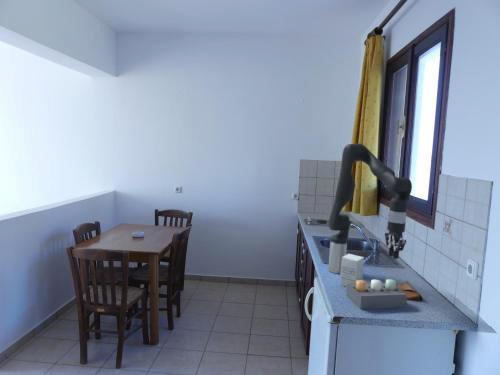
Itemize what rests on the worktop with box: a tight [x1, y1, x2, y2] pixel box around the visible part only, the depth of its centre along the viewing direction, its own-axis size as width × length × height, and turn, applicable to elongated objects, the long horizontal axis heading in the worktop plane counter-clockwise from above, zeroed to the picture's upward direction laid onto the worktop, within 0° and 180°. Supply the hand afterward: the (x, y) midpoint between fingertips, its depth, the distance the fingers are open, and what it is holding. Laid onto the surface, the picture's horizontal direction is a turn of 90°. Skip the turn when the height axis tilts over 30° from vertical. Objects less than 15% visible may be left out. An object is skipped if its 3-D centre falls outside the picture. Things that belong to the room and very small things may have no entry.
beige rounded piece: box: [356, 279, 368, 292], centre depth 160 cm, size 5×5×6 cm
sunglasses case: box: [396, 280, 423, 302], centre depth 173 cm, size 18×7×7 cm
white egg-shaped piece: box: [370, 279, 383, 291], centre depth 162 cm, size 5×5×6 cm
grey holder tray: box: [345, 282, 407, 310], centre depth 162 cm, size 14×22×6 cm, turn 100°
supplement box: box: [339, 253, 365, 288], centre depth 181 cm, size 9×9×15 cm
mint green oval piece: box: [385, 278, 397, 291], centre depth 163 cm, size 5×5×6 cm
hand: (393, 257), depth 161 cm, fingers open, 3 cm apart
